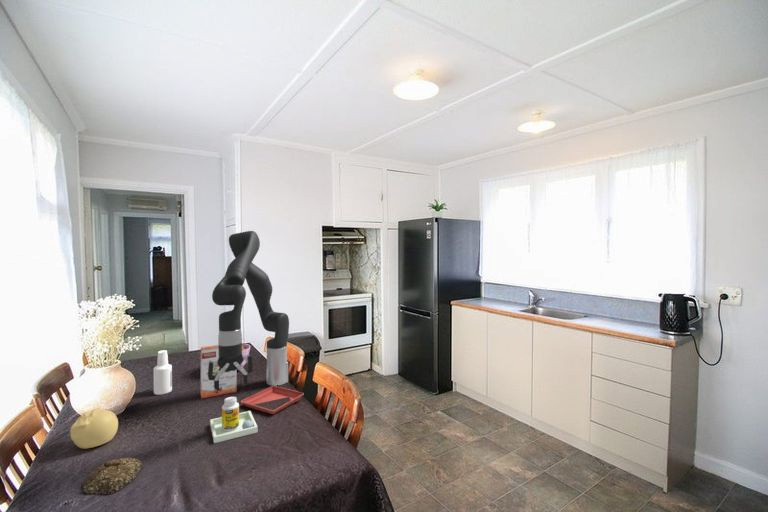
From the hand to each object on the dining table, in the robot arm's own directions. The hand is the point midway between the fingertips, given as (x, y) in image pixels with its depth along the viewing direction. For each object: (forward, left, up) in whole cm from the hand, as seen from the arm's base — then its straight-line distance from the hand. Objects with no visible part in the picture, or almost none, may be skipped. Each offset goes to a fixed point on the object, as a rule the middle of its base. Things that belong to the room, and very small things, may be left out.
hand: (231, 387), depth 123 cm
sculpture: (+39, -13, -15) cm, 44 cm away
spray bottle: (+21, -49, -15) cm, 56 cm away
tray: (-1, +1, -15) cm, 15 cm away
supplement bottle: (0, 0, -15) cm, 15 cm away
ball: (-5, +5, -14) cm, 16 cm away
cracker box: (0, -35, -15) cm, 38 cm away
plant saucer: (-18, -13, -16) cm, 27 cm away
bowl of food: (-8, -63, -15) cm, 65 cm away
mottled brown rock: (+32, +12, -16) cm, 37 cm away
